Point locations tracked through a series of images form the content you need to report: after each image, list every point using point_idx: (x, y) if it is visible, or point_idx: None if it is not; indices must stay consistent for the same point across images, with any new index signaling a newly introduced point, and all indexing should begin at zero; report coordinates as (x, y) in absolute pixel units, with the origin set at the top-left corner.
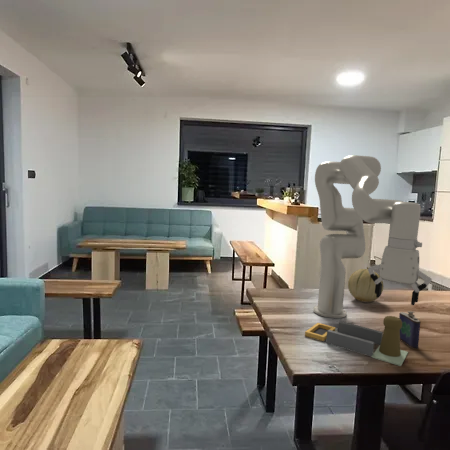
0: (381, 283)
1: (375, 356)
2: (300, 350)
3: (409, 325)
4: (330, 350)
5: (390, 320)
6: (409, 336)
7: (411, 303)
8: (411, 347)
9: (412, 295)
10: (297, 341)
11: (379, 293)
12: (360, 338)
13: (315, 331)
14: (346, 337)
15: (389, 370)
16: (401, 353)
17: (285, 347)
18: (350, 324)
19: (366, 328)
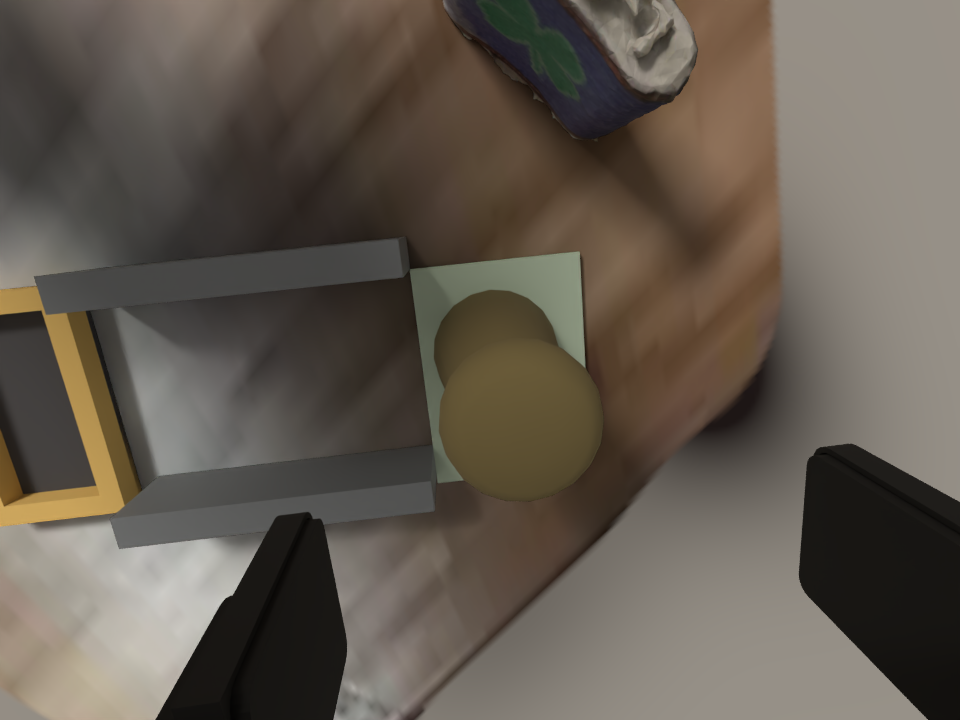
0: (230, 714)
1: (455, 472)
2: (141, 677)
3: (575, 57)
4: (241, 566)
5: (521, 499)
6: (565, 94)
7: (816, 595)
8: (576, 137)
9: (927, 707)
10: (48, 604)
11: (330, 668)
12: (339, 493)
13: (2, 407)
14: (262, 527)
15: (556, 545)
16: (554, 312)
17: (68, 705)
18: (142, 286)
19: (275, 269)
